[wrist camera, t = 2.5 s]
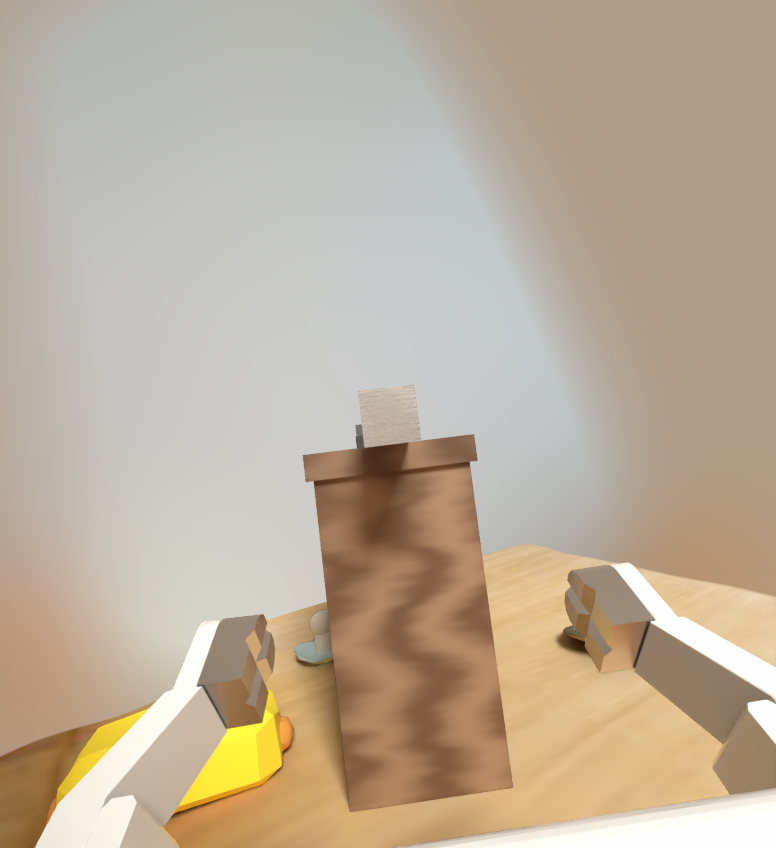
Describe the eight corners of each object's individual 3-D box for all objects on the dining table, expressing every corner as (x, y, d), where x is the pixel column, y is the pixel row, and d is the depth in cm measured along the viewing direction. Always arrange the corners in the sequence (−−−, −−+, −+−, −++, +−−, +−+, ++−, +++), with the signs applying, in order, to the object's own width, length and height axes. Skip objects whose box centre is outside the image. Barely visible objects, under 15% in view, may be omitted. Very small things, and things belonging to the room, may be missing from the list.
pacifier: (291, 656, 49) (299, 678, 44) (286, 607, 50) (293, 623, 44) (344, 638, 52) (357, 657, 47) (338, 592, 53) (351, 606, 47)
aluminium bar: (364, 447, 19) (357, 391, 20) (373, 446, 44) (370, 421, 45) (421, 440, 20) (414, 384, 20) (398, 443, 44) (394, 418, 45)
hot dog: (72, 799, 31) (15, 903, 24) (66, 717, 31) (8, 794, 24) (292, 721, 37) (300, 785, 30) (285, 653, 37) (291, 699, 30)
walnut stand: (342, 819, 26) (298, 415, 28) (359, 645, 49) (335, 429, 51) (522, 792, 27) (468, 395, 28) (456, 632, 50) (428, 417, 51)
